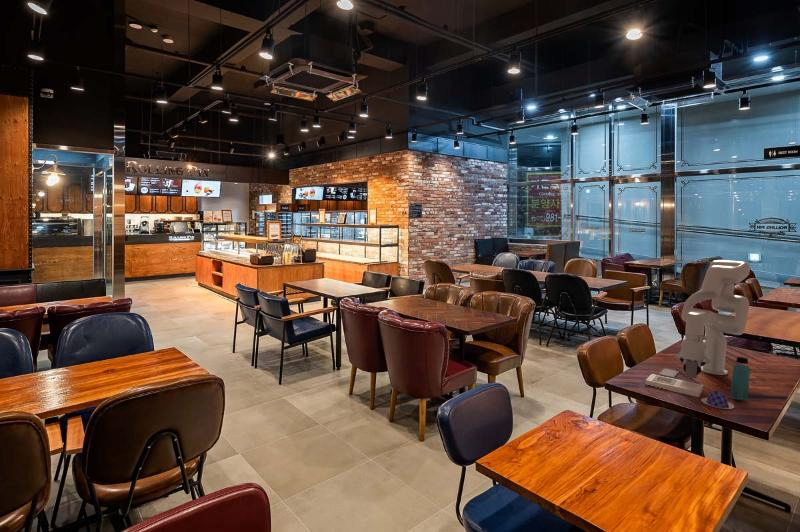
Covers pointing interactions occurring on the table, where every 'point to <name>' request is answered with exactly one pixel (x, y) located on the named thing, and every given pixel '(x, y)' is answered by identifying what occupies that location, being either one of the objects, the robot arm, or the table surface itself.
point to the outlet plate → (675, 385)
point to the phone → (668, 373)
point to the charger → (691, 368)
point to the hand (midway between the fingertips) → (691, 372)
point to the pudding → (717, 400)
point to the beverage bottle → (740, 379)
